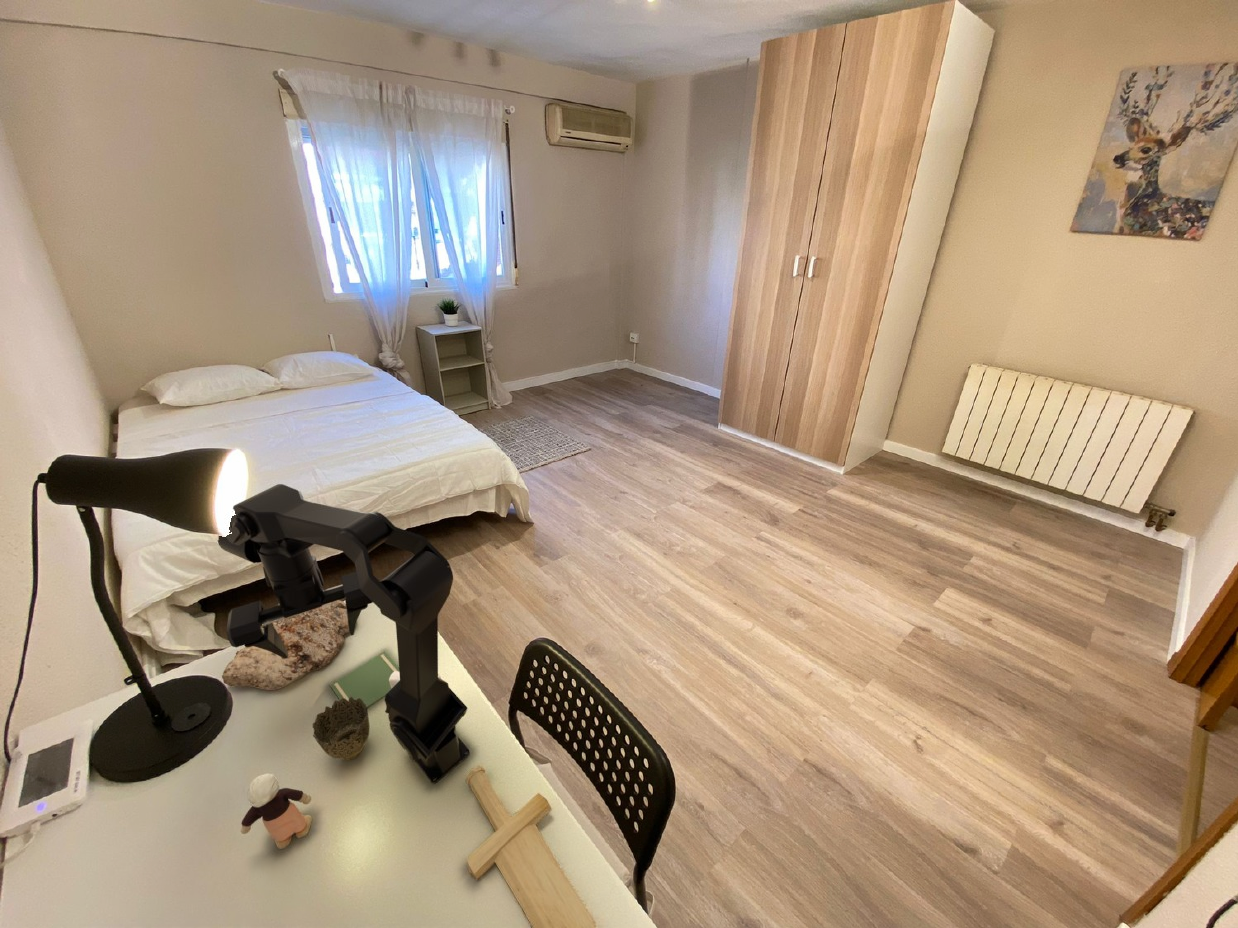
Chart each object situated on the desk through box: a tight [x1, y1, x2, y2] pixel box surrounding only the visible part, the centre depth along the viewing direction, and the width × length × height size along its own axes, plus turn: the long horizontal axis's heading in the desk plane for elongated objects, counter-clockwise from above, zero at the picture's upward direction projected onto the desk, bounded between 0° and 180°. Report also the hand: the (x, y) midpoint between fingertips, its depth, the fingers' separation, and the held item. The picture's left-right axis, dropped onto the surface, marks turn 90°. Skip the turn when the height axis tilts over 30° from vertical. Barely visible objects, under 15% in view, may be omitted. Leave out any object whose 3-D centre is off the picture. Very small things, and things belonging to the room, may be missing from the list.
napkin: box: [329, 651, 399, 709], centre depth 90 cm, size 9×10×1 cm
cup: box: [312, 697, 370, 761], centre depth 77 cm, size 8×7×8 cm
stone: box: [221, 599, 350, 691], centre depth 94 cm, size 22×8×15 cm
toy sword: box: [465, 764, 597, 928], centre depth 65 cm, size 12×3×30 cm
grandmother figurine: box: [240, 772, 313, 850], centre depth 66 cm, size 8×4×13 cm, turn 134°
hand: (320, 644), depth 80 cm, fingers open, 9 cm apart
